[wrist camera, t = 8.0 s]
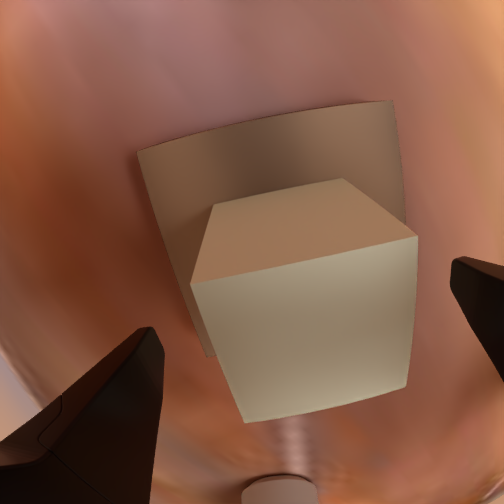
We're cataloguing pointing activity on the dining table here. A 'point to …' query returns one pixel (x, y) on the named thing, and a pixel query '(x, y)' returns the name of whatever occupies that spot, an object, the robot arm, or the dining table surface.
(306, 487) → the can
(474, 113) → the dining table surface
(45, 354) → the dining table surface
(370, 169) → the plinth
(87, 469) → the robot arm
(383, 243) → the block
